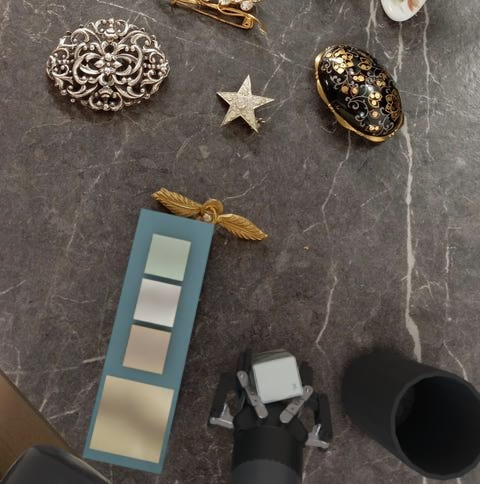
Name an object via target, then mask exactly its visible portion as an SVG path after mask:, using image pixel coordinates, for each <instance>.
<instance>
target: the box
mask: <svg viewBox="0 0 480 484" xmlns="http://www.w3.org/2000/svg"><path fill="white" fill-rule="evenodd" d="M298 368H299V367H298V364H297V360H296V356H294V355H293V354H292V353H290V352H289V351H288V350H286V349H285V348H284V347H283V348H278V349H272V350H268V351H263V352H258V353H254V354H252V357H251V366H250V373H249V380H250V382H251V384H252V386H255V388H256V390H257V393H258V396H259V397H260V399H261V402H262V404H265V403H270V402H274V401H283V400H286V399H291V398H294V397H295V396H299V395H302V394H303V388H302V384H301V379H300V375H299V369H298Z"/></svg>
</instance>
